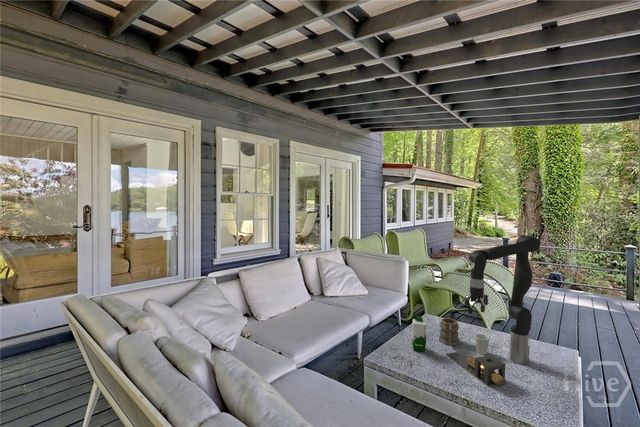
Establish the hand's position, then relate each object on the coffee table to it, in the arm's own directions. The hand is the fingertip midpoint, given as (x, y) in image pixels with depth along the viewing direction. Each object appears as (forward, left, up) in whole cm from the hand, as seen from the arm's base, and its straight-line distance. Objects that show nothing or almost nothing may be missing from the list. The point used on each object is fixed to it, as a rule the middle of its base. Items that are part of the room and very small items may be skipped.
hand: (476, 312), depth 190 cm
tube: (+6, +14, -29) cm, 33 cm away
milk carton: (+24, -22, -30) cm, 44 cm away
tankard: (0, -24, -30) cm, 38 cm away
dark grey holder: (+6, +6, -30) cm, 31 cm away
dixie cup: (-12, -8, -30) cm, 33 cm away
